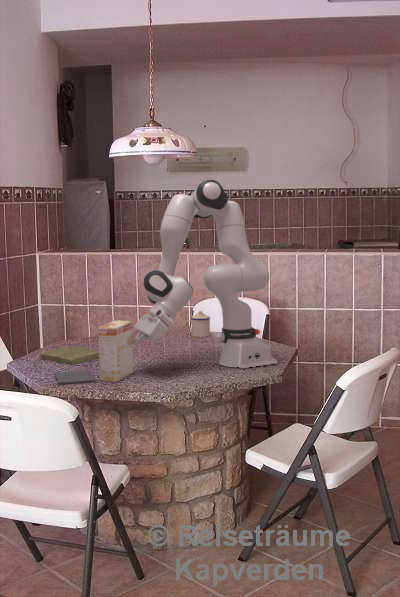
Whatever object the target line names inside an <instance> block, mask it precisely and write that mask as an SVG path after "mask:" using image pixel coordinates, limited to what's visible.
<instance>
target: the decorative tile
mask: <svg viewBox="0 0 400 597" xmlns="http://www.w3.org/2000/svg"><path fill="white" fill-rule="evenodd" d="M39 357H40V358H41V359H40V360H44V359H45V360H44V361H49V360H51V361H50V362H54V361H56V362H55V363H59V362H61V364H64V363H66V364H65V365H69V364H70V366H74V365H78V364H82V363H83V364H84V363H86V362H87V363H88V362H92V361H96V360H100V358H99V350H92V349H91V348H88V347H87V346H79V345H77V346H75V345H74V346H73V345H72V346H66V347H58V348H55V349H51V350H46V351H45V352H40V356H39Z"/></svg>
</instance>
